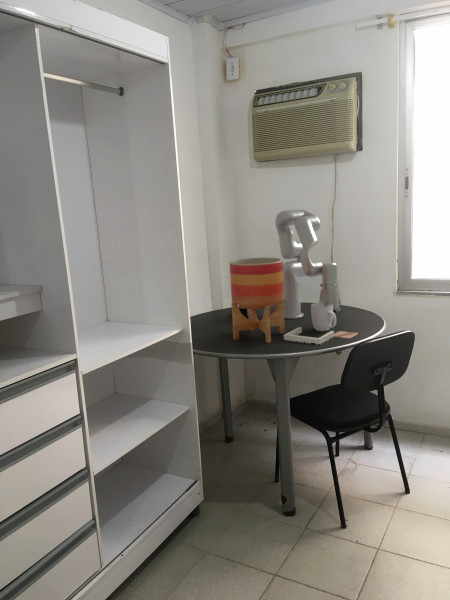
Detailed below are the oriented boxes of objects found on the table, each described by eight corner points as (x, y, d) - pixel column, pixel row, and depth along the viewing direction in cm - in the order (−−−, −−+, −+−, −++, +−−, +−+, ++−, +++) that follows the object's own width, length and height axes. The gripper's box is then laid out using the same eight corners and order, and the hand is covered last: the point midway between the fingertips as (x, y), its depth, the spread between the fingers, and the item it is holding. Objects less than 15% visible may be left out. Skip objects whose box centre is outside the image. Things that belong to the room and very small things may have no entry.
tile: (330, 336, 239) (330, 336, 239) (339, 331, 246) (339, 331, 246) (350, 338, 233) (350, 338, 233) (358, 333, 241) (358, 333, 240)
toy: (255, 300, 306) (251, 309, 277) (255, 311, 307) (252, 320, 278) (235, 301, 308) (230, 309, 279) (236, 312, 309) (231, 321, 280)
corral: (283, 339, 237) (283, 334, 237) (299, 332, 249) (299, 327, 249) (320, 344, 226) (320, 339, 226) (334, 336, 238) (334, 331, 238)
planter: (242, 346, 230) (238, 266, 223) (226, 333, 256) (221, 260, 248) (295, 339, 237) (293, 260, 230) (274, 326, 263) (271, 255, 255)
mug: (343, 331, 246) (343, 305, 244) (327, 335, 241) (327, 309, 238) (322, 325, 259) (321, 301, 256) (306, 329, 253) (306, 304, 250)
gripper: (313, 287, 254) (314, 321, 257) (340, 288, 245) (341, 324, 249) (319, 284, 260) (320, 318, 263) (346, 286, 251) (347, 321, 255)
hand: (330, 321), depth 256 cm, fingers closed
